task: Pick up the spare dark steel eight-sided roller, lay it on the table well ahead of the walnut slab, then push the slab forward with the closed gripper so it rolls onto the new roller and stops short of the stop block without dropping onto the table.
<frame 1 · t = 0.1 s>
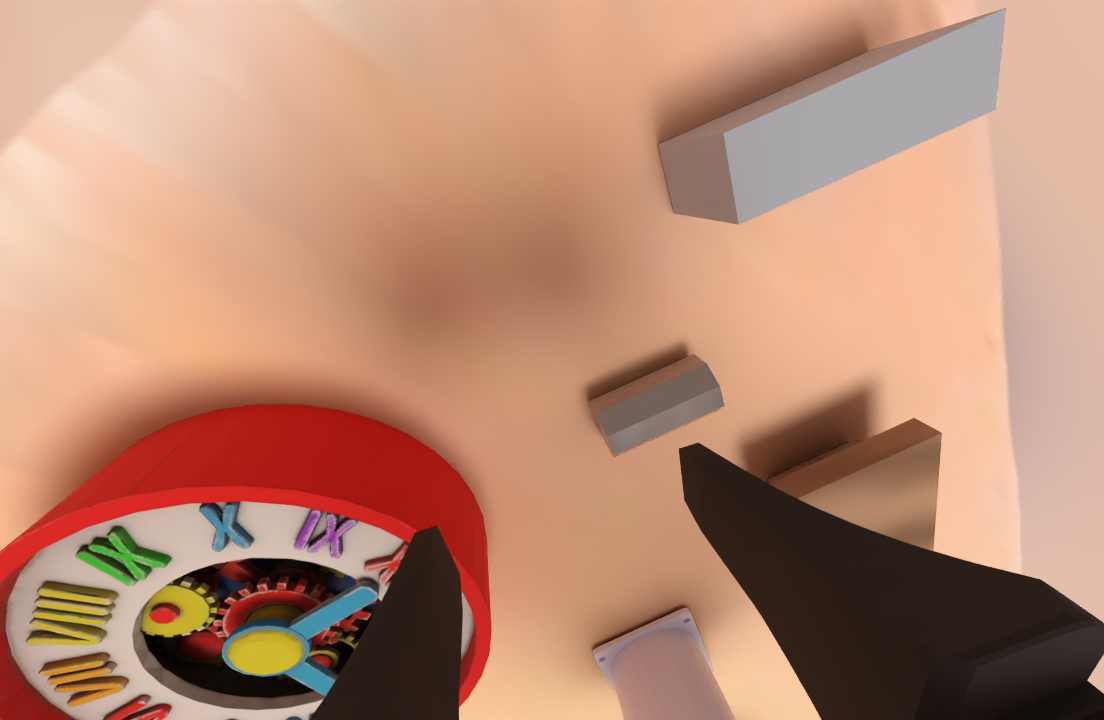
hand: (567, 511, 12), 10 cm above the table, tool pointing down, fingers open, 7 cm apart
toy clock: (307, 554, 23), on the table
slab: (848, 540, 27), point 3 cm above the table, touching roller 2, roller 1
roller 2: (808, 467, 28), on the table, touching slab
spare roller: (642, 392, 23), on the table
stop block: (768, 134, 18), on the table
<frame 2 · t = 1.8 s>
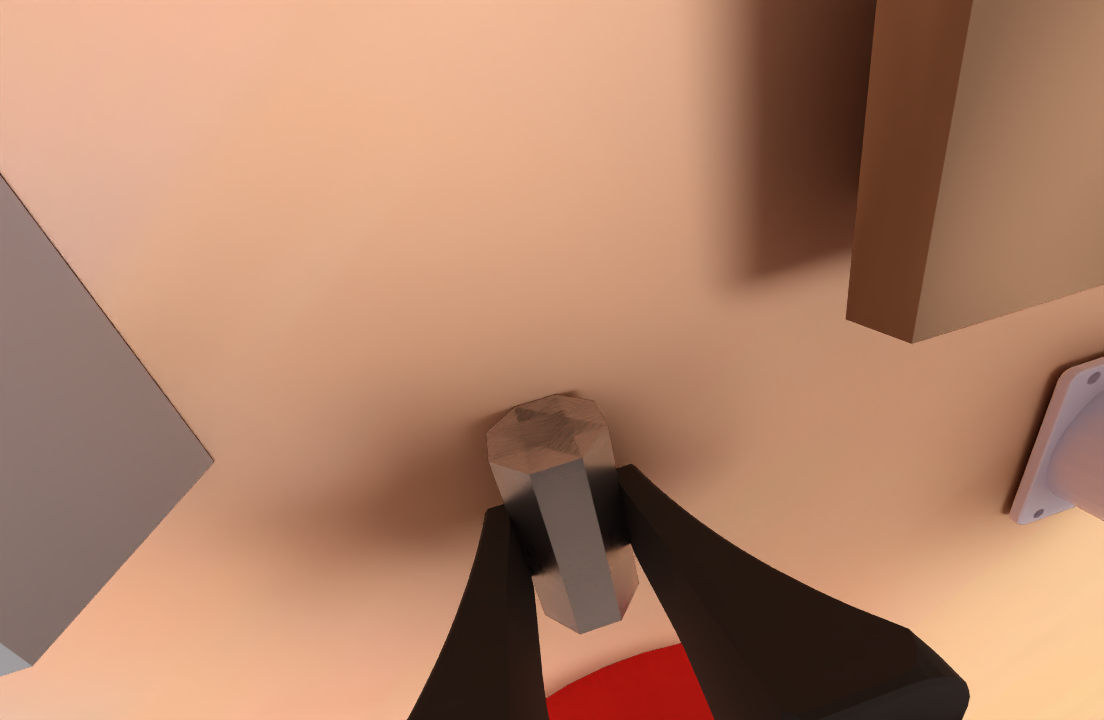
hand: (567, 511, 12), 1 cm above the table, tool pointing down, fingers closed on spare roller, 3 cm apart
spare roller: (557, 478, 13), on the table, touching gripper
stop block: (0, 296, 8), on the table
when the fingers open (2 cm above the table, at t = 4.8 s): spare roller drops 1 cm, on the table.
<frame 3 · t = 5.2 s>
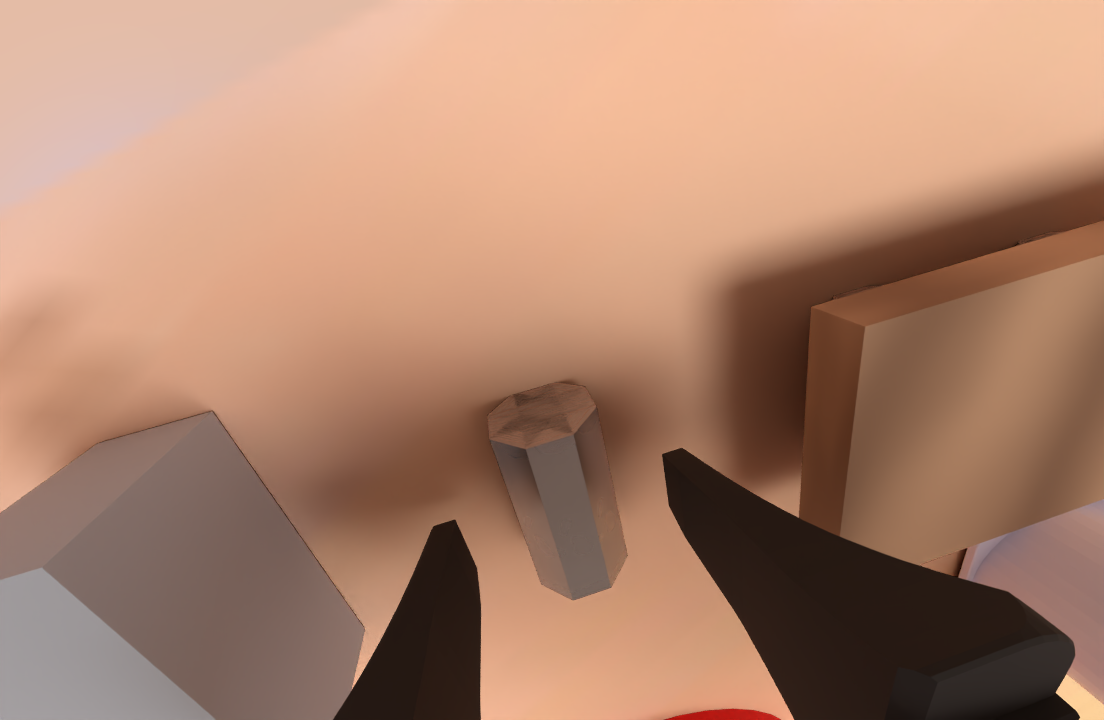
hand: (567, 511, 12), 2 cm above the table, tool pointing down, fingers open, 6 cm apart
slab: (1041, 373, 13), point 3 cm above the table, touching roller 2, roller 1
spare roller: (552, 460, 14), on the table
stop block: (254, 552, 13), on the table
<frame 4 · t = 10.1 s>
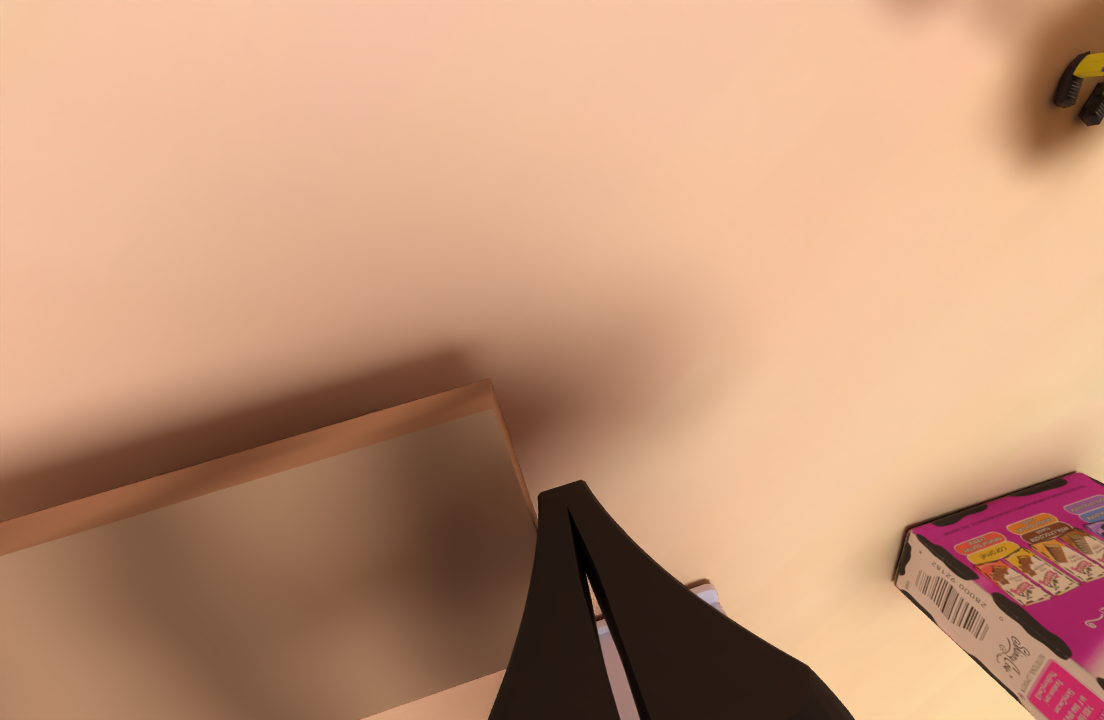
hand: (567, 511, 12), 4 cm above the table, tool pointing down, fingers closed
slab: (264, 593, 12), point 3 cm above the table, touching roller 2, roller 1
toy figure: (1073, 91, 14), on the table
candy bar box: (978, 525, 24), on the table
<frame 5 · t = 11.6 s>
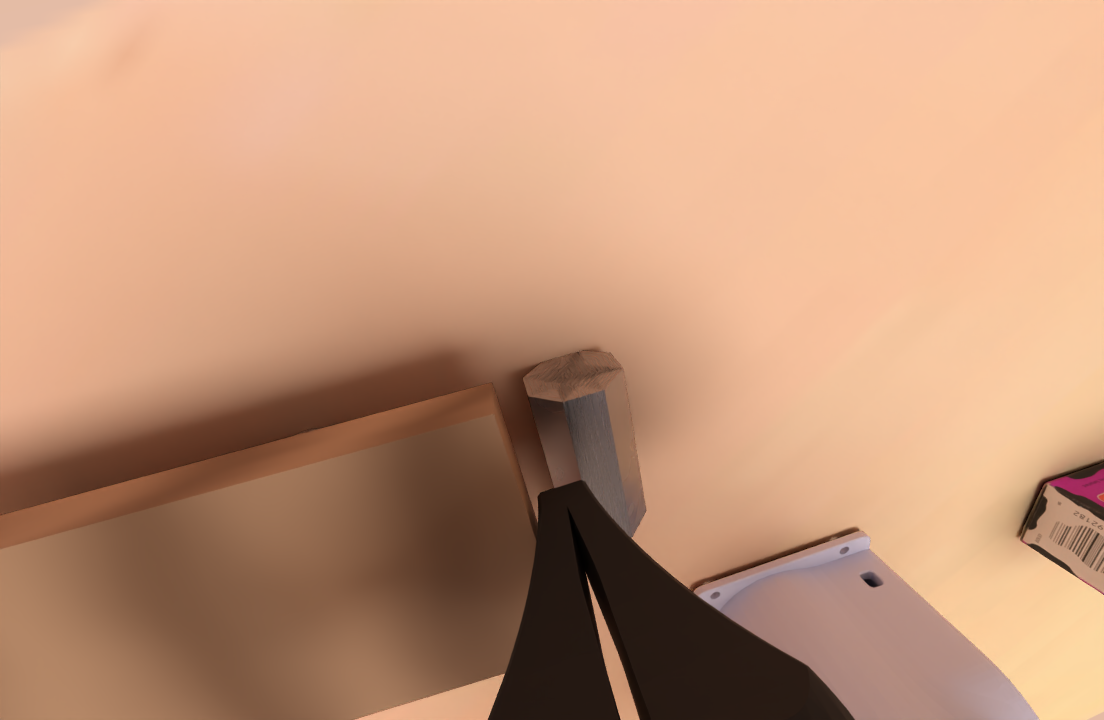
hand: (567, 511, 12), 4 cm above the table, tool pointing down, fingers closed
slab: (263, 590, 12), point 3 cm above the table, touching roller 2
roller 1: (629, 435, 14), point 1 cm above the table, tilted 90°
candy bar box: (1102, 482, 24), on the table
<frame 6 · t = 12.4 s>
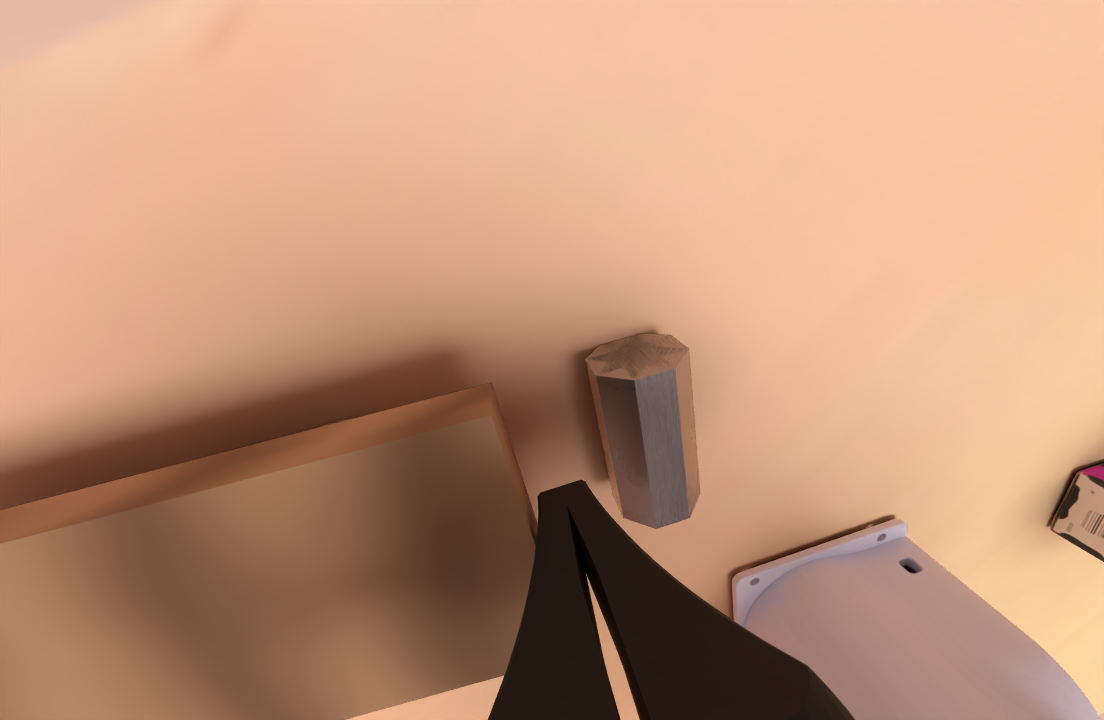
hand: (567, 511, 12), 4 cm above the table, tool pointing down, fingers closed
slab: (263, 586, 12), point 3 cm above the table, touching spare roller
roller 1: (686, 417, 14), point 1 cm above the table, tilted 90°
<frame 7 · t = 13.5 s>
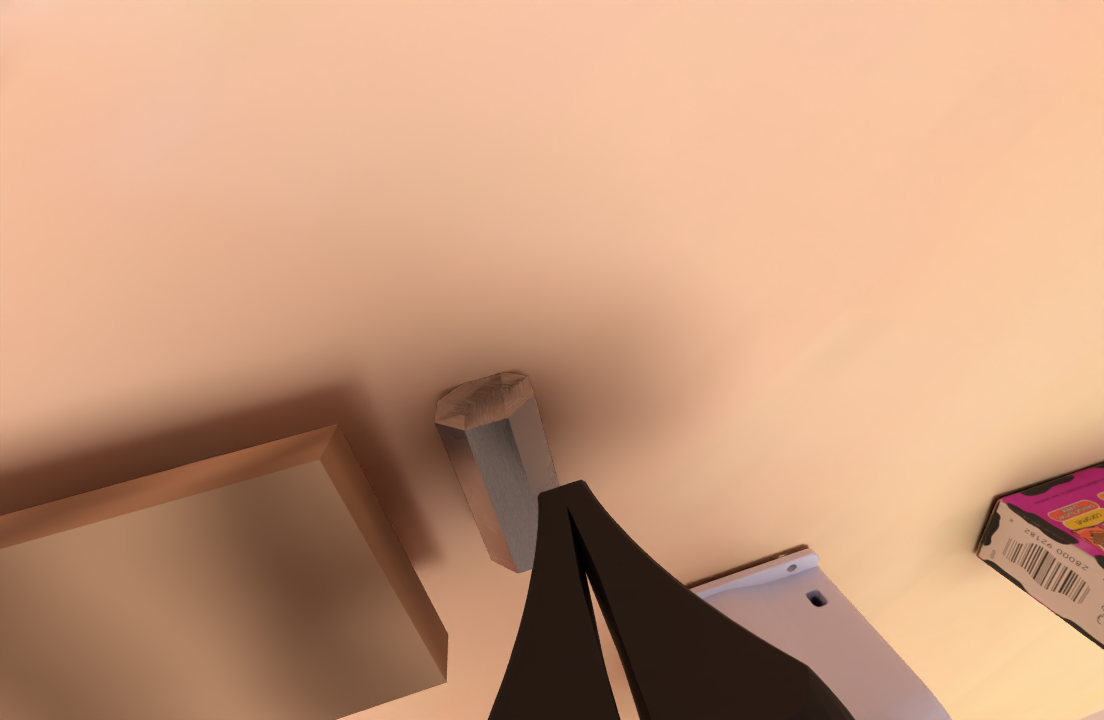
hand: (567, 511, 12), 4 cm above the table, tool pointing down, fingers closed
slab: (120, 631, 12), point 3 cm above the table, touching roller 2, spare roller
roller 1: (551, 459, 14), point 1 cm above the table, tilted 90°
candy bar box: (1058, 498, 24), on the table
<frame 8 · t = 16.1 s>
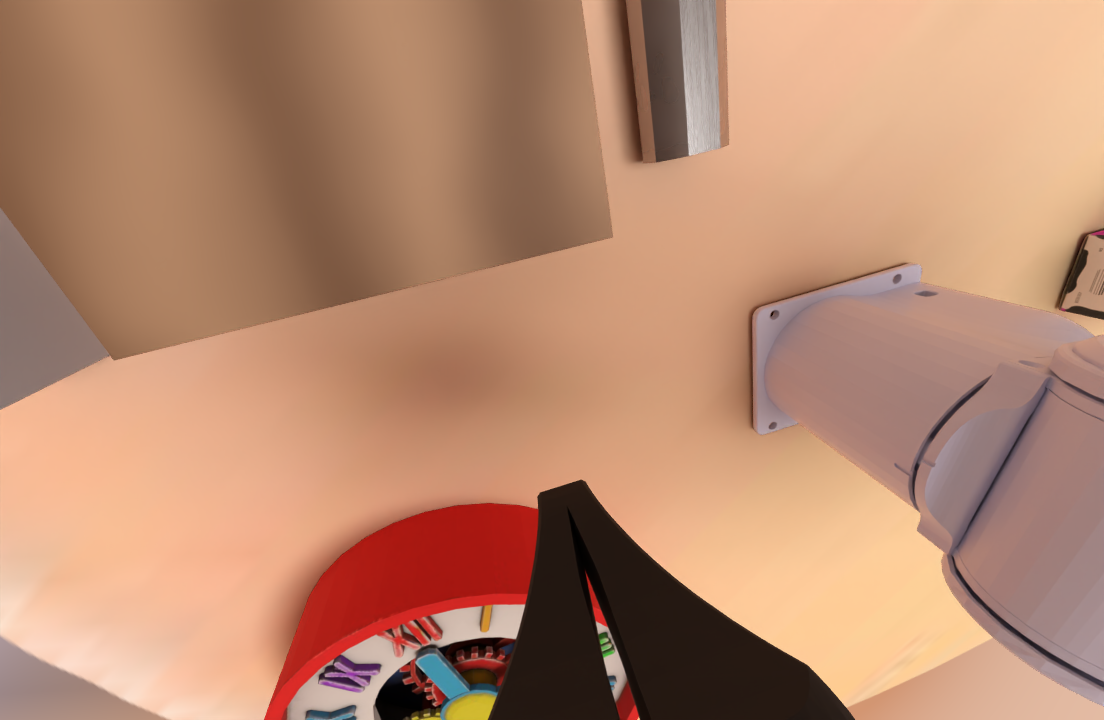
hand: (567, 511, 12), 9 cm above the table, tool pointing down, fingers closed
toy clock: (471, 617, 27), on the table
slab: (330, 144, 13), point 3 cm above the table, touching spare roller
roller 1: (717, 55, 15), point 1 cm above the table, tilted 90°
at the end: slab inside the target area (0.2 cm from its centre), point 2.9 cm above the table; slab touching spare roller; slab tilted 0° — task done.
